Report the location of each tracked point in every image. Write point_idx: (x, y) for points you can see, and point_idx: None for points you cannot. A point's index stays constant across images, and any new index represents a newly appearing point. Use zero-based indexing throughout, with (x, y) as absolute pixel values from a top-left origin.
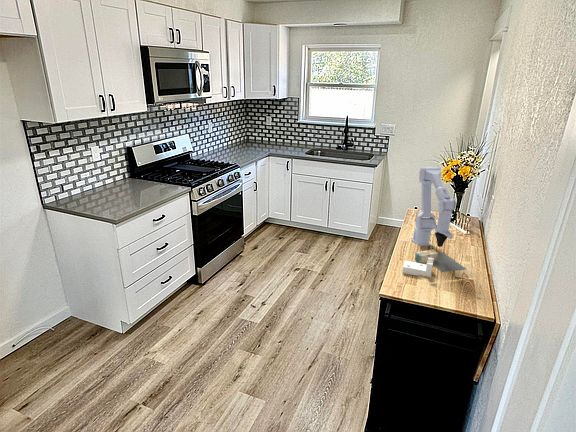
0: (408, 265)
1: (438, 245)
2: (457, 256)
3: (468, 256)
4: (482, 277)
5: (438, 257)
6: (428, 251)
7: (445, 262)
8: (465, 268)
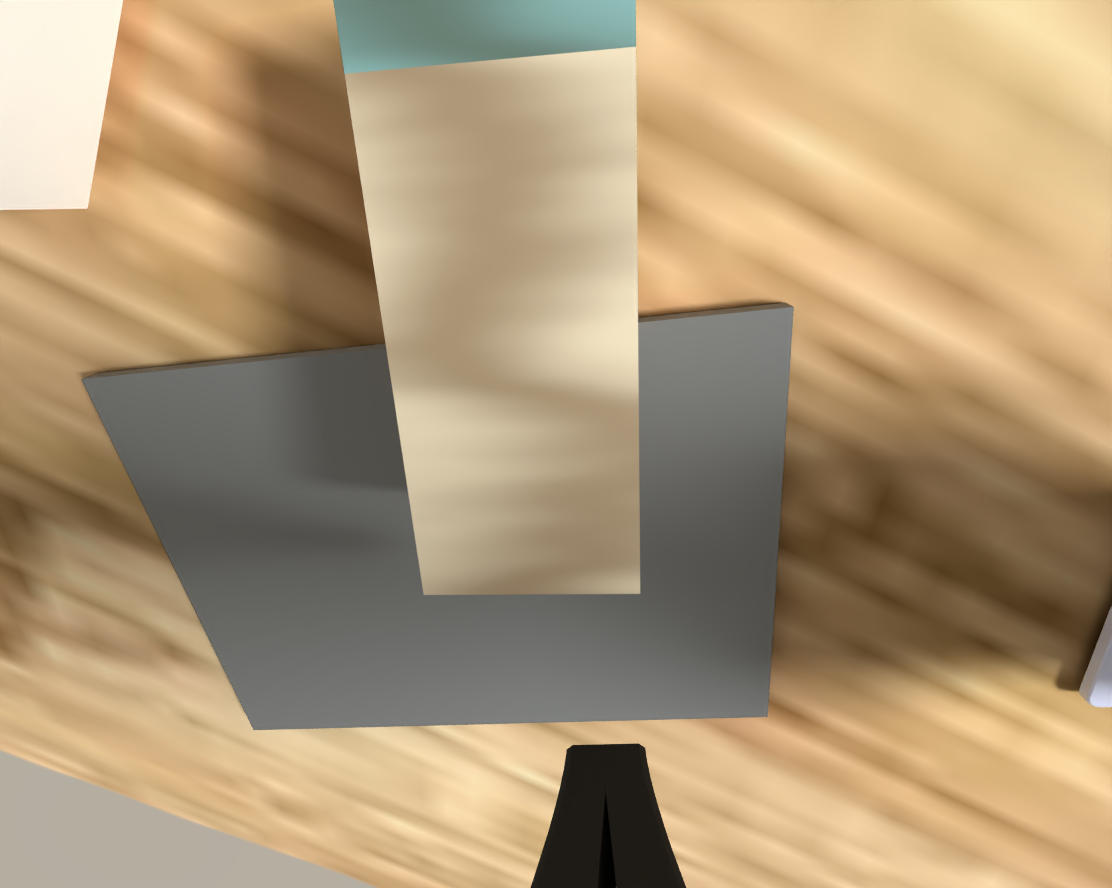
0: None
1: (577, 774)
2: None
3: None
4: (116, 766)
5: None
6: (562, 419)
7: None
8: (269, 726)
